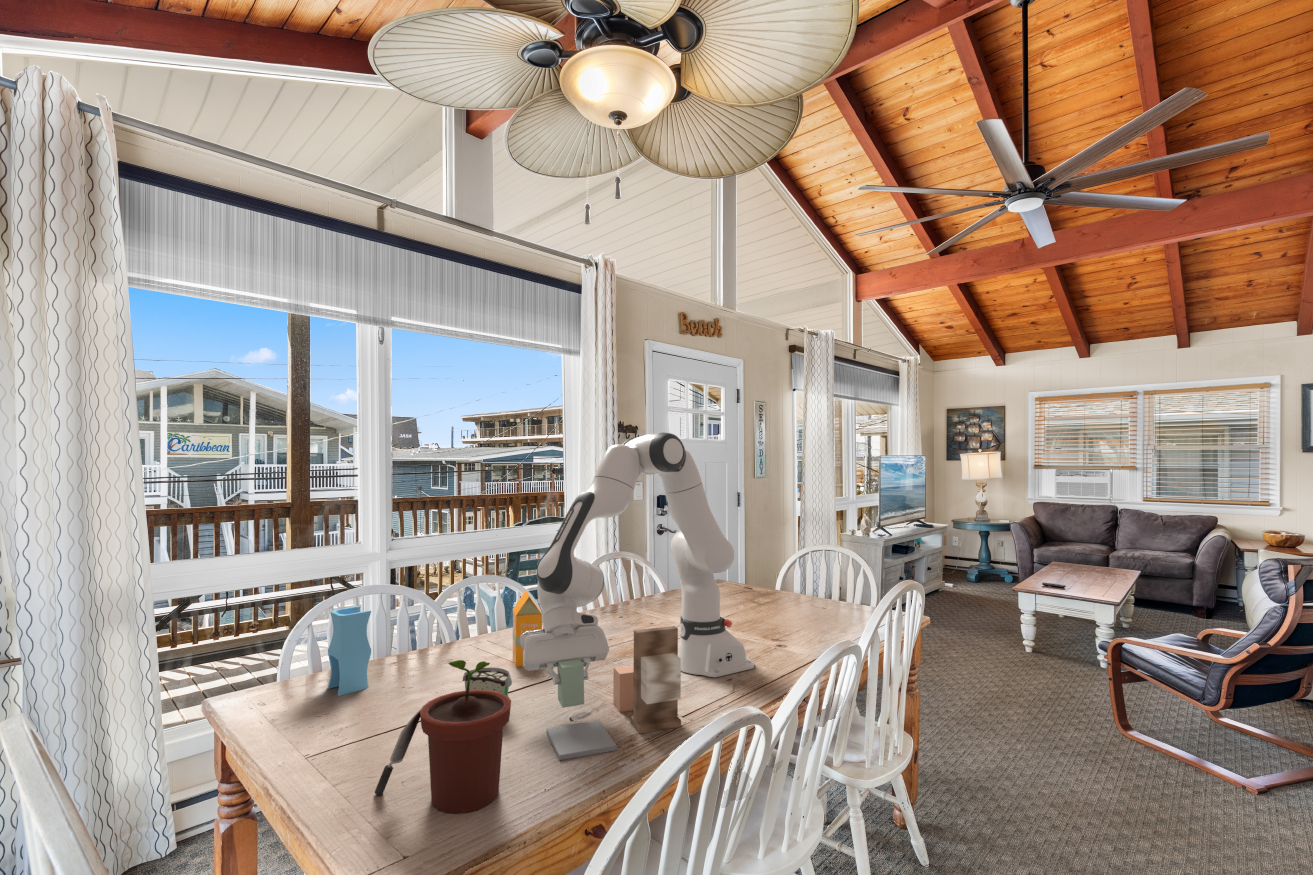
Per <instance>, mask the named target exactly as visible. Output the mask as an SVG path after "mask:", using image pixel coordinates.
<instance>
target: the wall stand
mask: <svg viewBox="0 0 1313 875" xmlns="http://www.w3.org/2000/svg"><path fill="white" fill-rule="evenodd" d="M678 640H679V629H678V627H676V626H675V625H673V626H662V627H661V626H660V627H654V628H644V629H643V628H642V629H635V630H633V666H634V690H633V710H632V711H633V713H632V714H633V715H630V719H629V720H630V724H631V726H632V727H633V728H634V729H635V730H636V732H637V733H638V734H640V735H641V734H646V733H652V732H656V731H657V732H659V731H663V730H668V729H675V728H681V727H682V719H681V718H680V717H679V716H678V712H679V710H678V702H679V700H681V698H682V697H681V695H682V694H681V692H682V690H681V688H682V687H681V686H682V683H681V682H682V680H681V679H682V677H681V676H682V675H681V674H682V673H681V672H682V671H681V658H680V657H678V656H679V641H678Z"/></svg>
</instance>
